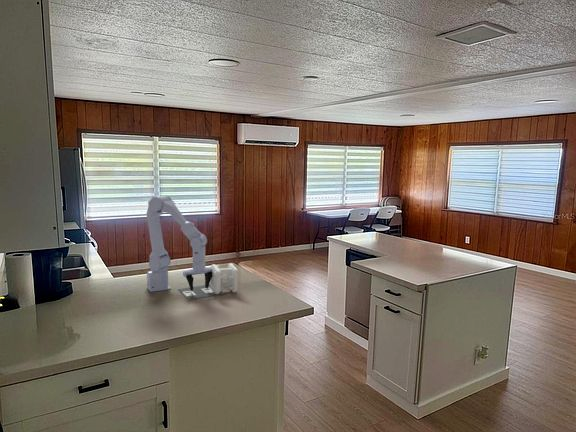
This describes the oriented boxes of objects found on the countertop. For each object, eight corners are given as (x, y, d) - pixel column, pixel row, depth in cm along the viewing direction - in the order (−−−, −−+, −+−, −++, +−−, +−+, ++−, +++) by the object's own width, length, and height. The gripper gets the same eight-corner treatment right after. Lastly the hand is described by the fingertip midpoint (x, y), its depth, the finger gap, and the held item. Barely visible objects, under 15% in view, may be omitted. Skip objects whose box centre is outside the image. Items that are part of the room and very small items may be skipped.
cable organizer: (237, 295, 180) (239, 270, 179) (214, 296, 177) (215, 271, 175) (230, 285, 194) (231, 262, 193) (208, 286, 190) (209, 262, 189)
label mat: (188, 300, 173) (188, 299, 173) (177, 289, 186) (177, 289, 186) (224, 294, 181) (224, 293, 181) (211, 284, 195) (211, 284, 195)
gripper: (186, 264, 174) (186, 294, 176) (217, 260, 182) (217, 289, 184) (181, 260, 180) (181, 289, 182) (211, 257, 188) (211, 285, 190)
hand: (199, 289), depth 183 cm, fingers open, 7 cm apart
